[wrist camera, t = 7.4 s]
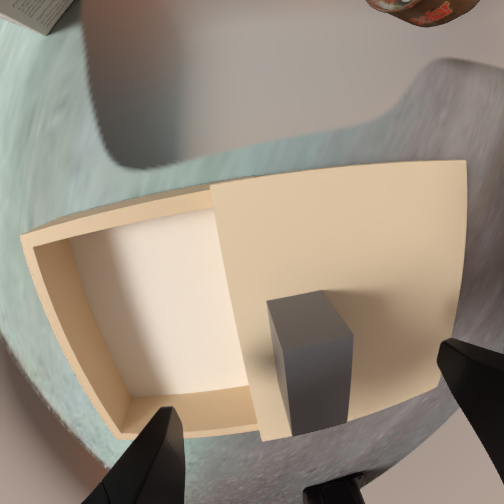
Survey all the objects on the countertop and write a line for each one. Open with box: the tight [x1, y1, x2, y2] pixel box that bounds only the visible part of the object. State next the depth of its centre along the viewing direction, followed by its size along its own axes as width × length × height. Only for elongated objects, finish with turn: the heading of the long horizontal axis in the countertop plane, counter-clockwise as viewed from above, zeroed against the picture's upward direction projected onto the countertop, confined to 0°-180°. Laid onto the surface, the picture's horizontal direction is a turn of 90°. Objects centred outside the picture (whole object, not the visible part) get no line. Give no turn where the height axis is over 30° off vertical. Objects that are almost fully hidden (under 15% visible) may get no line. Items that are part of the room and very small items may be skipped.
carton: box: [20, 176, 259, 440], centre depth 13 cm, size 12×10×4 cm
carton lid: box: [209, 160, 467, 442], centre depth 10 cm, size 12×10×4 cm
